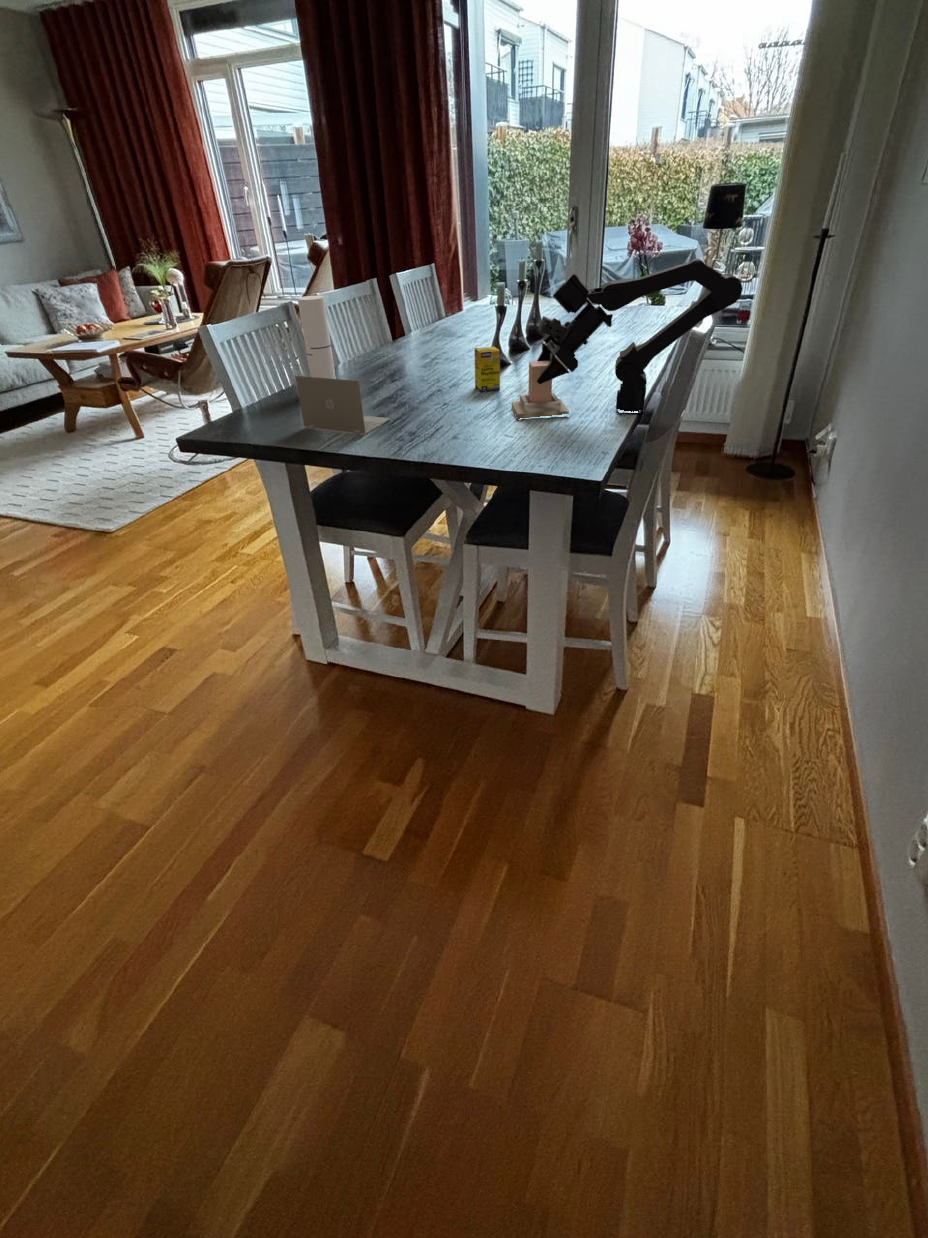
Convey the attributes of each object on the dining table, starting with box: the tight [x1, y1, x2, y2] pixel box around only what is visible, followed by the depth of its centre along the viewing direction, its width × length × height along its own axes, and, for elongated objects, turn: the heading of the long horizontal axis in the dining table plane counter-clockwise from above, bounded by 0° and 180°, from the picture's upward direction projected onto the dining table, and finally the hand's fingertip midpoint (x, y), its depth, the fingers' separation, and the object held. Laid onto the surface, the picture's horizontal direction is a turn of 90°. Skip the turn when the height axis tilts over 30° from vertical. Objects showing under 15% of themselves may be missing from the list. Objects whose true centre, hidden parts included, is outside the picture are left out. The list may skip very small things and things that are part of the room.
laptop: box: [295, 375, 391, 436], centre depth 159 cm, size 18×12×13 cm
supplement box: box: [474, 346, 501, 393], centre depth 181 cm, size 6×6×11 cm
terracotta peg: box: [527, 360, 553, 403], centre depth 161 cm, size 5×5×12 cm
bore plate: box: [511, 392, 570, 420], centre depth 163 cm, size 13×11×4 cm
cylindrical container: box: [297, 295, 337, 379], centre depth 182 cm, size 7×7×25 cm
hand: (534, 378), depth 160 cm, fingers open, 9 cm apart
